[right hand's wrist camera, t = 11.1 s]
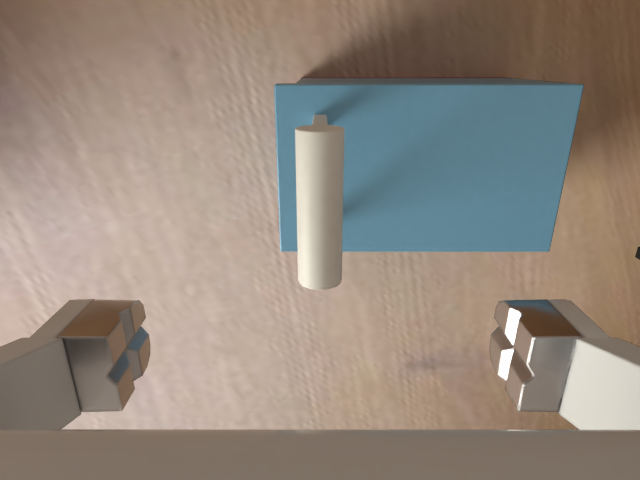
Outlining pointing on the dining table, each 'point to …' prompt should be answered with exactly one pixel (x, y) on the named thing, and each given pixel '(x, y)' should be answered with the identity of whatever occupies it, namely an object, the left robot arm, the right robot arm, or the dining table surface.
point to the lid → (419, 168)
